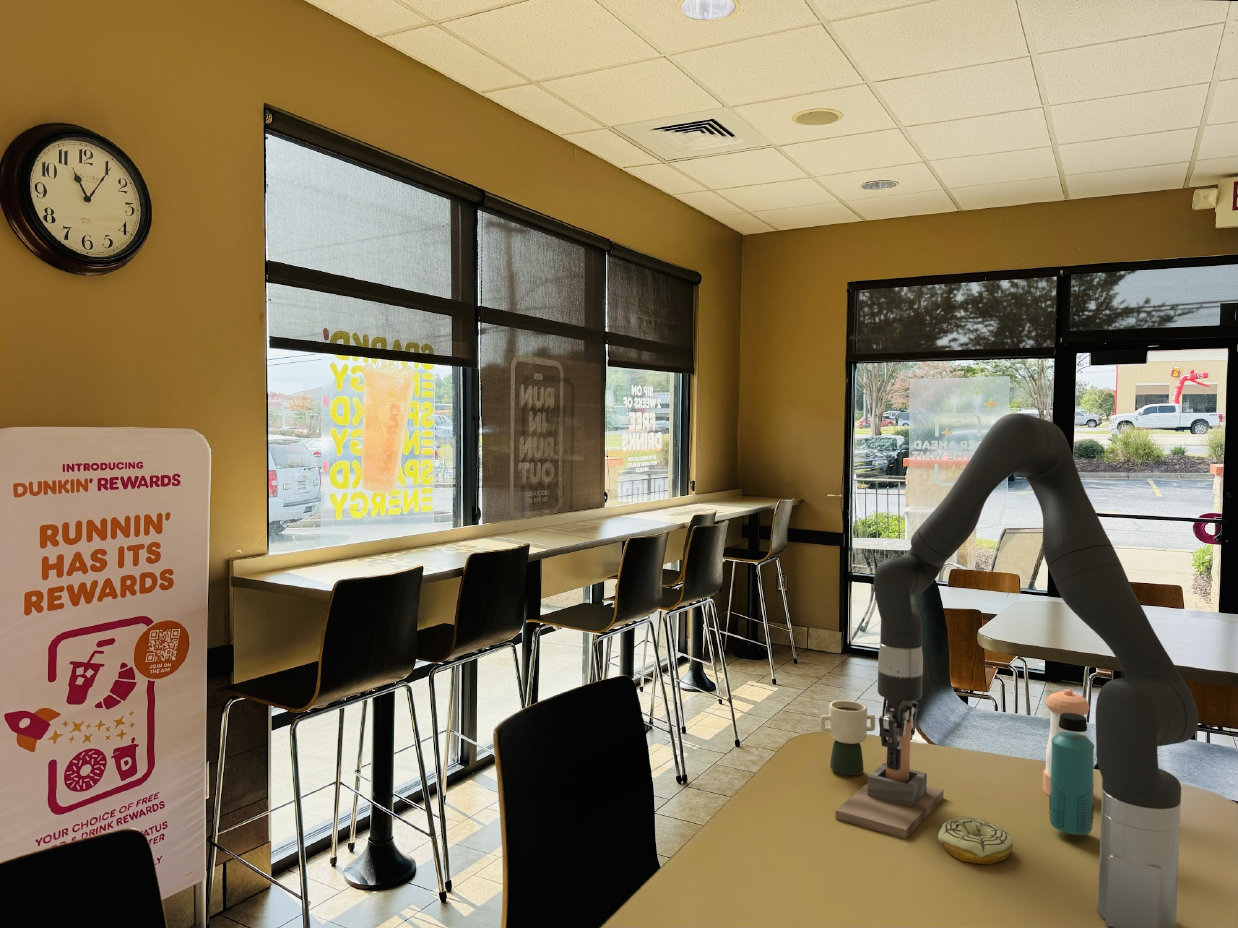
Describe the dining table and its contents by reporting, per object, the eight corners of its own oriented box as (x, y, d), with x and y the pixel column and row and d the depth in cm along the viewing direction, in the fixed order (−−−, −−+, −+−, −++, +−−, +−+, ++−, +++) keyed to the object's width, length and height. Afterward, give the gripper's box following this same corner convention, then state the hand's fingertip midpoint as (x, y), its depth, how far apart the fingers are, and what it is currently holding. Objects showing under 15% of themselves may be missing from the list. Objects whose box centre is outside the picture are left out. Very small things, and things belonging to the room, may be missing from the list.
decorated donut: (926, 848, 142) (926, 825, 141) (962, 830, 148) (963, 807, 148) (988, 874, 134) (988, 850, 133) (1023, 853, 140) (1024, 830, 140)
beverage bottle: (1098, 846, 142) (1102, 722, 142) (1053, 841, 144) (1057, 719, 143) (1085, 828, 149) (1089, 710, 148) (1042, 824, 150) (1046, 707, 149)
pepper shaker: (1093, 793, 163) (1097, 690, 162) (1077, 804, 158) (1081, 698, 157) (1052, 781, 168) (1055, 681, 167) (1036, 792, 163) (1039, 689, 163)
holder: (905, 838, 144) (906, 808, 144) (835, 818, 152) (836, 789, 151) (943, 797, 160) (944, 770, 160) (878, 781, 168) (878, 755, 167)
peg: (904, 794, 156) (906, 727, 155) (882, 788, 158) (883, 722, 157) (912, 787, 159) (913, 721, 158) (890, 781, 161) (891, 716, 161)
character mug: (867, 764, 176) (868, 699, 176) (881, 778, 169) (882, 710, 168) (813, 765, 175) (814, 700, 175) (824, 780, 168) (826, 712, 168)
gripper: (907, 682, 149) (905, 783, 150) (934, 664, 161) (932, 758, 162) (864, 674, 154) (862, 772, 155) (893, 657, 165) (891, 748, 166)
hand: (897, 764), depth 158 cm, fingers closed on peg, 3 cm apart
